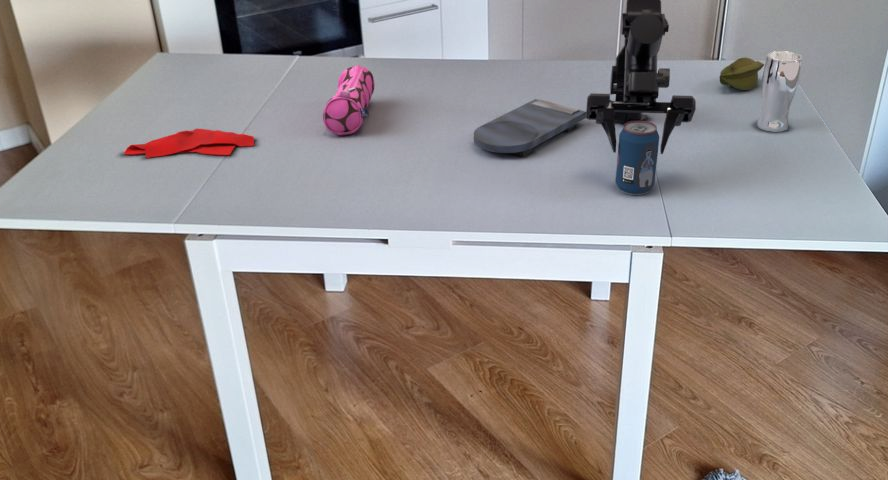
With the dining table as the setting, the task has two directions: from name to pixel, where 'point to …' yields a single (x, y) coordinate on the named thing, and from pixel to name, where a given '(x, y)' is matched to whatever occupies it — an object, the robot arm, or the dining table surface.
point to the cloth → (193, 143)
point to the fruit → (741, 74)
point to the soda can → (637, 157)
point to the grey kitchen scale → (526, 127)
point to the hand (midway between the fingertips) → (638, 152)
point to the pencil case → (349, 101)
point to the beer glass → (778, 89)
